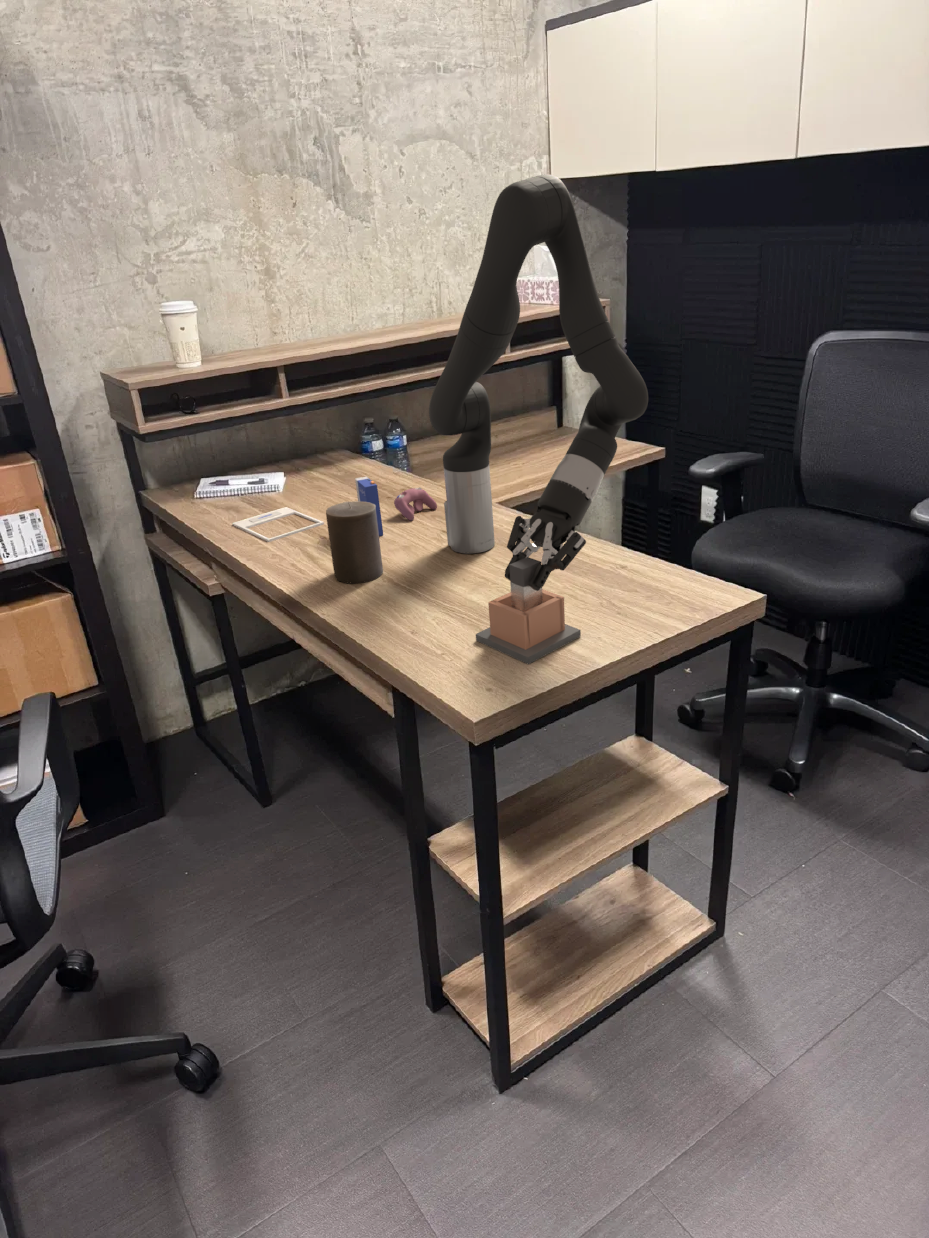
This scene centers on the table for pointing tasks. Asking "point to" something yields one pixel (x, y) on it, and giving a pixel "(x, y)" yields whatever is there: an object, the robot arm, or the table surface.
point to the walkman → (369, 497)
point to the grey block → (524, 585)
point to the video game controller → (418, 500)
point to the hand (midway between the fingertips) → (521, 583)
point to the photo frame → (270, 517)
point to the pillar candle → (354, 542)
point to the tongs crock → (527, 628)
